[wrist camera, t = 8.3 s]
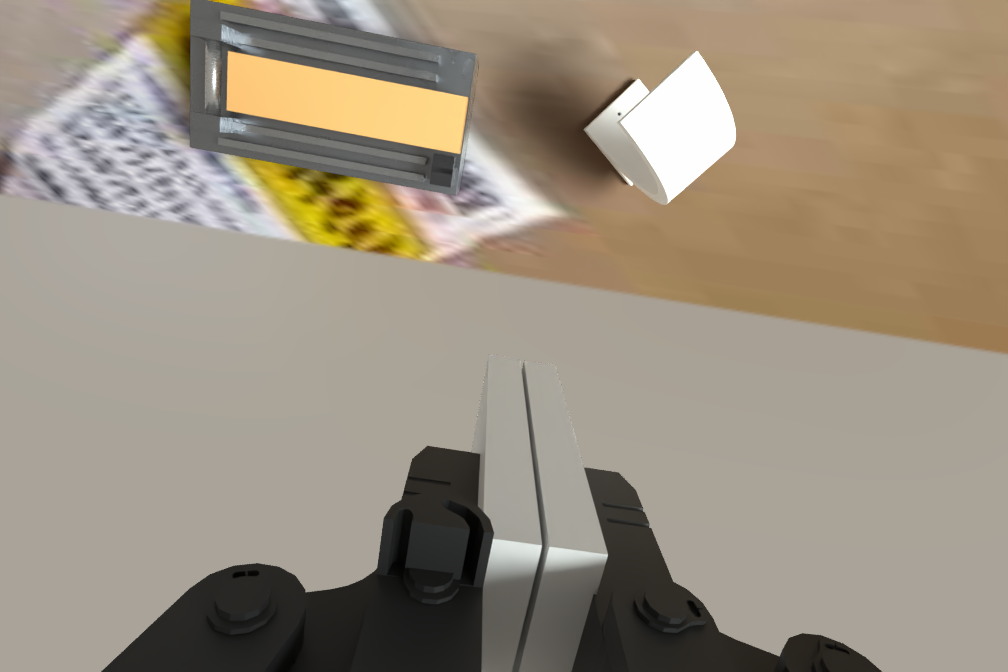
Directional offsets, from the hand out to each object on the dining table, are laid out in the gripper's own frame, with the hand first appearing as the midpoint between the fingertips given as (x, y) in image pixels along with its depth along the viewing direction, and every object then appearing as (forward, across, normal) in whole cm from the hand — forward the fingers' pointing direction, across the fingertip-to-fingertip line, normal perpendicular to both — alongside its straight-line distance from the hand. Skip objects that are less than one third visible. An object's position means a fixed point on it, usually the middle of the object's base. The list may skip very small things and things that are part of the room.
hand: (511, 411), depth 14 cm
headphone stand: (+29, +8, +8) cm, 31 cm away
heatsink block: (+28, -11, +7) cm, 31 cm away
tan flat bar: (+22, -10, +7) cm, 25 cm away
